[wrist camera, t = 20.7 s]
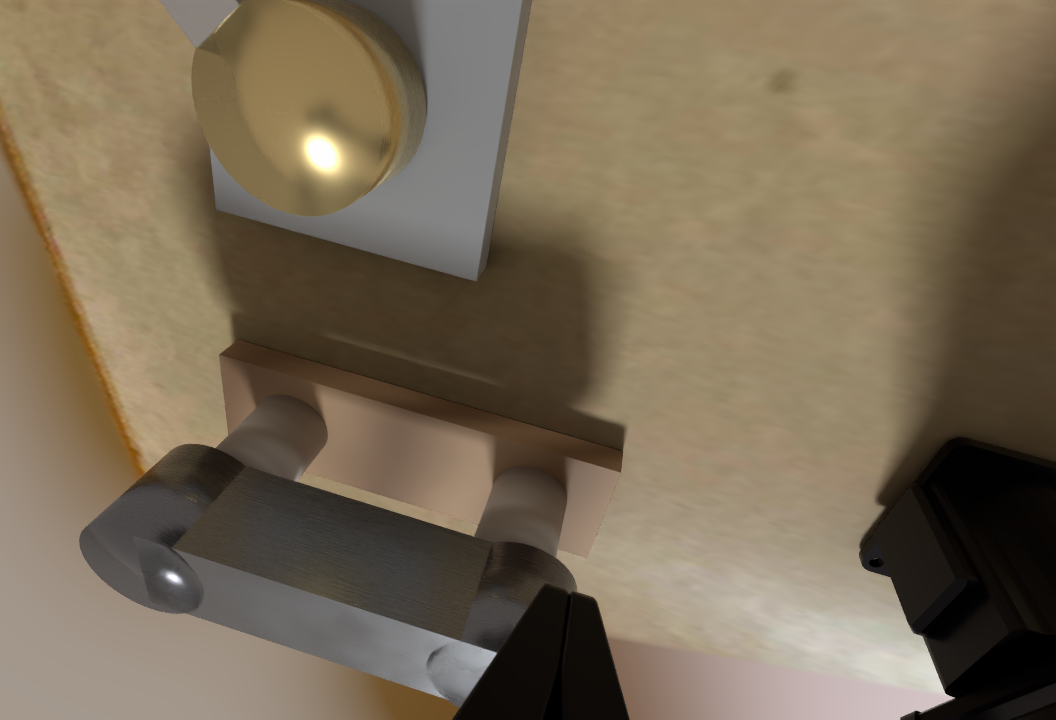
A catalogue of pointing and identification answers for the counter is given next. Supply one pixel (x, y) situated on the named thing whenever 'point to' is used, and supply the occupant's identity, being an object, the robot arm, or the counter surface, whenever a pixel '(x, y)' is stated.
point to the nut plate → (430, 142)
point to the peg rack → (416, 449)
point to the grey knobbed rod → (316, 570)
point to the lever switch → (303, 98)
